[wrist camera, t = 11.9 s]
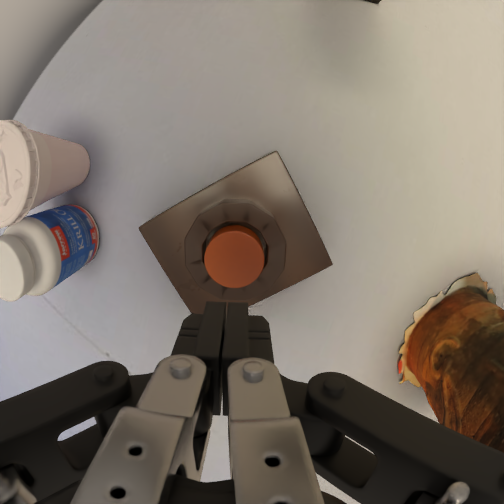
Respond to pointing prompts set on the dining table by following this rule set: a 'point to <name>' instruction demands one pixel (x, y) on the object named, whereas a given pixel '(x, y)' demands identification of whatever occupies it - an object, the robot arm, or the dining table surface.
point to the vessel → (460, 360)
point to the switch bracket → (374, 1)
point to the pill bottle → (45, 250)
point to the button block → (244, 214)
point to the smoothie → (35, 169)
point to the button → (234, 256)
